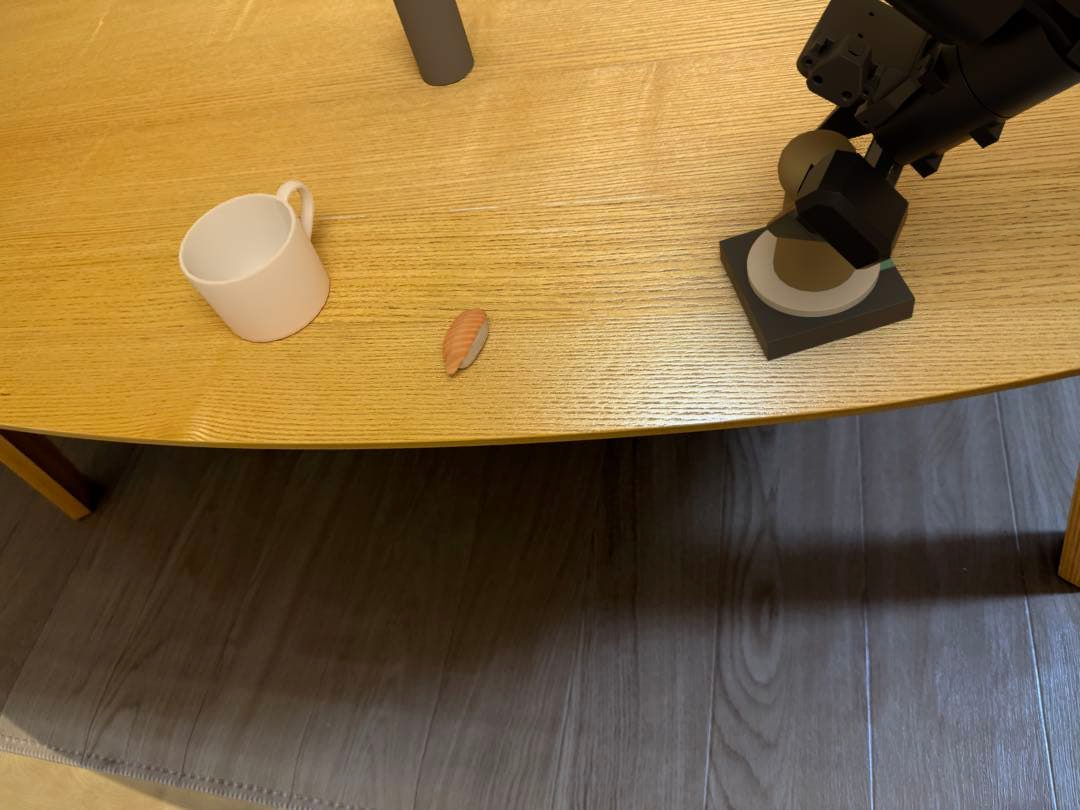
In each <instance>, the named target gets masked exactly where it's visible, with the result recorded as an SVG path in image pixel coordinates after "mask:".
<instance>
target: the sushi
mask: <svg viewBox="0 0 1080 810" xmlns="http://www.w3.org/2000/svg"><path fill="white" fill-rule="evenodd" d="M488 334H489V325H488V320H487V312H486V311H485V310H483V309H481V308H479V307H474V308H473V307H472V308H469V309H466V310H463V311H462V312H460V313H459V314H458V315H457V316H456V317H455V319H453V321H452V323H451V324H450V325H449V328H448V330H447V331H446V334H445V336H444V338H443V342H442V354H443V359H444V360H445V369H446V371H445V372H446V373H447V374H448V375H455V373H456V372H457V371H458V370H459V369H465V368H468V367H470V366H471V365H472V363H473V362H474V361H475V360H476V357H478V354H479V353H480V351H481V350H482V348H483V346H484V344H485V342H486V340H487V338H488V336H489V335H488Z"/></svg>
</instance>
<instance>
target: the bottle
mask: <svg viewBox="0 0 1080 810" xmlns="http://www.w3.org/2000/svg"><path fill="white" fill-rule="evenodd" d="M392 1H393V4H394V7H395V9H396V12H397V15H398V18H399V20H400V24H401V25H402V29H403V31H404V34H405V36H406V39H407V42H408V44H409V47H410V50H411V52H412V55H413V58H414V60H415V64H416V66H417V69H418V71H419V73H420V76H421V78H422V80H423V81H424V82H425V83H427V84H429V85H431V86H447V85H451V84H454V83H457V82H458V81H460V80H462V79H464V78H465V77H466V76H468V75H469V74H470V72H471V71H472V69H473V68H474V66H475V65H474V64H475V60H474V59H475V58H474V56H473V52H472V48H471V46H470V43H469V39H468V35H467V32H466V28H465V25H464V22H463V19H462V16H461V14H460V10H459V7H458V4H457V0H392Z"/></svg>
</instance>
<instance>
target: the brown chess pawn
mask: <svg viewBox="0 0 1080 810" xmlns="http://www.w3.org/2000/svg"><path fill="white" fill-rule="evenodd" d="M836 149H838V150H844V151H850V152H856V153H858V152H857V149H856V147H855V146H854V145H853V143H852V142H851V141H850V139H849V140H848V138H847V137H845V136H843V135H842V134H840V133H838V132H834V131H831V130H816V129H813V130H807V131H805V132H802V133H799V134H798V135H796V136H795V137H793V138H792V139H790V140H789V142H787V144H786V145H785V147H784V148H783V149H782V150H781V153H780V156H779V159H778V162H777V175H778V181H779V184H780V187H781V189H782V190H783V191H784V195H783V202H782V206H781V211H782V210H783V209H784V208H786V207H787V206H788V205H789V204H791V203H792V202H793V201H795V200H796V193H797V190H798V188H799V186H800V184H801V182H802V180H803V178H804V176H805V174H806V172H807V170H808V168H809V166H810V164H813V165H814V166H815V165H816V164H817V163H818V162H819V161H820V160H821V159H822V158H823V157H824V156H826V155H828V154H829V153H831V152H833V151H834V150H836ZM773 266H774V271H775V273H776V274H777V276H778V277H779V279H780V280H781V281H783V282H784V283H785V284H786V285H788V286H790V287H792V288H795V289H797V290H800V291H808V292H819V291H827V290H830V289H833V288H835V287H838V286H840V285H841V284H843V283H844V282H845V281H847V280H848V279H849V278H850V277H851V275H852V274H853V272H854V271H855V268H854V267H853V266H852V265H851V264H850V263H849V262H848V261H847V260H846V259H845V258H844V257H842V256H841V255H840V254H839V253H838V252H837V251H836V250H835V249H834V248H833V247H832V246H831V245H830V244H829V243H824V242H816V241H807V240H797V239H788V238H778V237H777V241H776V247H775V252H774V258H773Z"/></svg>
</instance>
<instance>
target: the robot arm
mask: <svg viewBox="0 0 1080 810" xmlns="http://www.w3.org/2000/svg"><path fill="white" fill-rule="evenodd" d="M795 66H796V69H797V71H798V73H799V74H800V75H801V76H802V77H803V78H804V79H806V80H805V85H806V87H807V90H808V91H809V92H811V93H813V94H815V95H816V96H818V97H820V98H821V99H824V100H825V101H828V102H829V103H831V104H833V105H835V107H834V108H833V109H832V110H831V112H830V113H829V114H828V115H827V116H826V117H825V118H824V119H823V121H822V122H821V123H820V124H819V125H818V126H817V127H816V128H815V130H831V131H834V132H838V133H840V134H842V135H843V136H845V137H847V138H848V140H849V141H850V140H853V139H856V138H860V137H863V136H866V135H870V134H871V135H872V138H871V141H870V143H869V145H868V147H867V150H866V152H865V154H864V156H863V155H862V154H861V153H860V152H857V151H856V152H857V153H856V152H850V151H844V150H838V149H836V150H834V151H833V152H831V153H829V154H828V155H826V156H824V157H823V158H822V159H821V160H820V161H819V162H818V163H817V164H816V165H815V166H814V165H813V164H810V166H809V168H808V170H807V172H806V174H805V176H804V178H803V180H802V182H801V184H800V186H799V188H798V190H797V193H796V200H795V201H793V202H792V203H791V204H789V205H788V206H787V207H786V208H784V209H783V210H782V209H781V211H779V212H778V213H777V214H775V216H774V217H772V218H771V219H770V220H769V221H767V223H766V225H765V227H766V229H767V230H768V231H769V232H770V233H771V234H772V235H773V236H775V237H778V238H788V239H797V240H807V241H816V242H824V243H829V244H830V245H831V246H832V247H833V248H834V249H835V250H836V251H837V252H838V253H839V254H840V255H841V256H842V257H844V258H845V259H846V260H847V261H848V262H849V263H850V264H851V265H852V266H853V267H854V268H855V269H856V270H861V269H867V268H870V267H872V266H874V265H877V264H879V263H881V262H884V261H886V260H888V259H890V258H892V255H893V252H894V250H895V248H896V245H897V243H898V240H899V238H900V236H901V235H902V234H901V233H902V231H903V228H904V226H905V225H906V221H907V219H908V214H909V213H908V212H909V205H910V202H909V201H908V200H907V199H906V198H905V197H904V196H903V195H902V194H901V193H900V191H898V190H897V189H896V187H897V184H898V181H899V179H900V177H901V176H902V173H903V170H904V168H905V167H906V166H908V165H909V166H910V167H911V168H912V169H913V170H914V171H916V173H917V174H918V175H919V176H920V177H921V178H922V179H925V178H927V177H930V176H932V175H933V174H935V173H937V172H938V170H939V168H940V167H941V166H940V165H941V163H942V161H943V158H944V157H945V154H946V153H947V152H949V151H951V150H953V149H955V148H957V147H958V146H960V145H962V144H964V143H966V142H968V141H970V140H973V141H974V142H975V143H976V144H977V145H978V146H979V147H980V148H981V149H986V148H988V147H989V146H991V145H994V144H995V143H998V142H999V141H1000V138H1001V135H1002V133H1003V130H1004V127H1005V125H1006V122H1007V121H1009V120H1011V119H1013V118H1015V117H1017V116H1019V115H1020V114H1022V113H1024V112H1026V111H1029V110H1030V109H1032V108H1034V107H1036V106H1038V105H1040V104H1042V103H1044V102H1046V101H1048V100H1050V99H1051V98H1053V97H1055V96H1057V95H1059V94H1061V93H1064V92H1065V91H1067V90H1069V89H1071V88H1073V87H1075V86H1076V85H1078V84H1080V0H829V2H828V4H827V6H826V7H825V9H824V10H823V12H822V14H821V16H820V18H819V19H818V21H817V22H816V25H815V26H814V28H813V29H812V31H811V32H810V35H809V37H808V39H807V40H806V43H805V44H804V46H803V48H802V50H801V51H800V53H799V55H798V57H797V59H796V61H795Z"/></svg>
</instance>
